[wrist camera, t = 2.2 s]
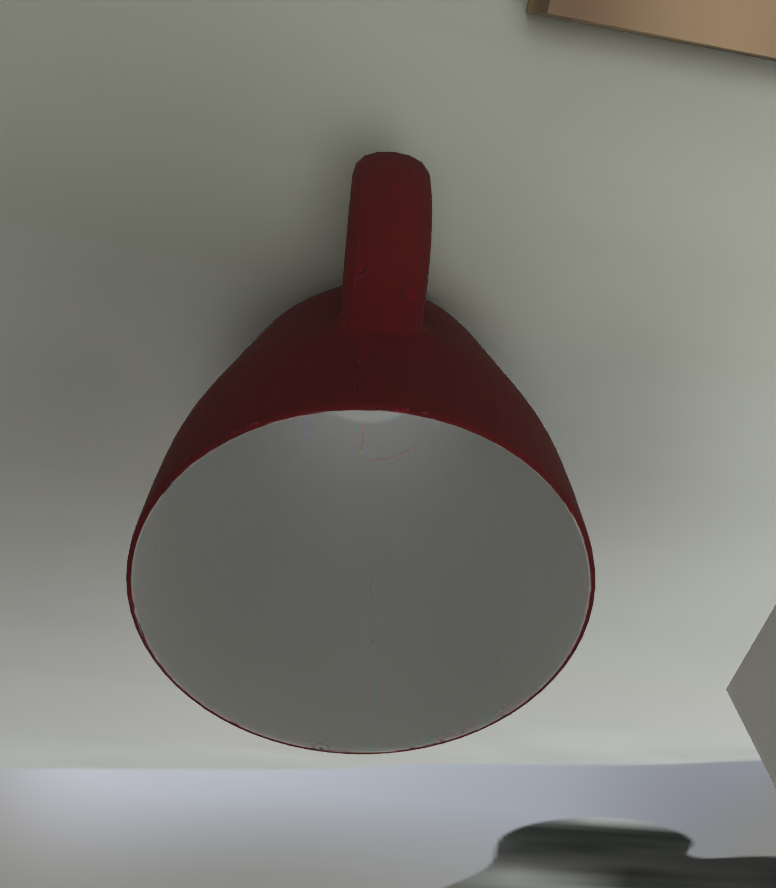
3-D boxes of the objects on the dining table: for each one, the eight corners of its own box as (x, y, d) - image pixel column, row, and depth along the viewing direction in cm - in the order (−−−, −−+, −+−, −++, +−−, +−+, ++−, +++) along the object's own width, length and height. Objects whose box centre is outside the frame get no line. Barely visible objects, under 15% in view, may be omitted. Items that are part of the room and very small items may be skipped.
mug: (188, 125, 18) (11, 240, 9) (519, 110, 18) (656, 213, 9) (248, 483, 23) (173, 764, 15) (501, 473, 23) (575, 749, 14)
